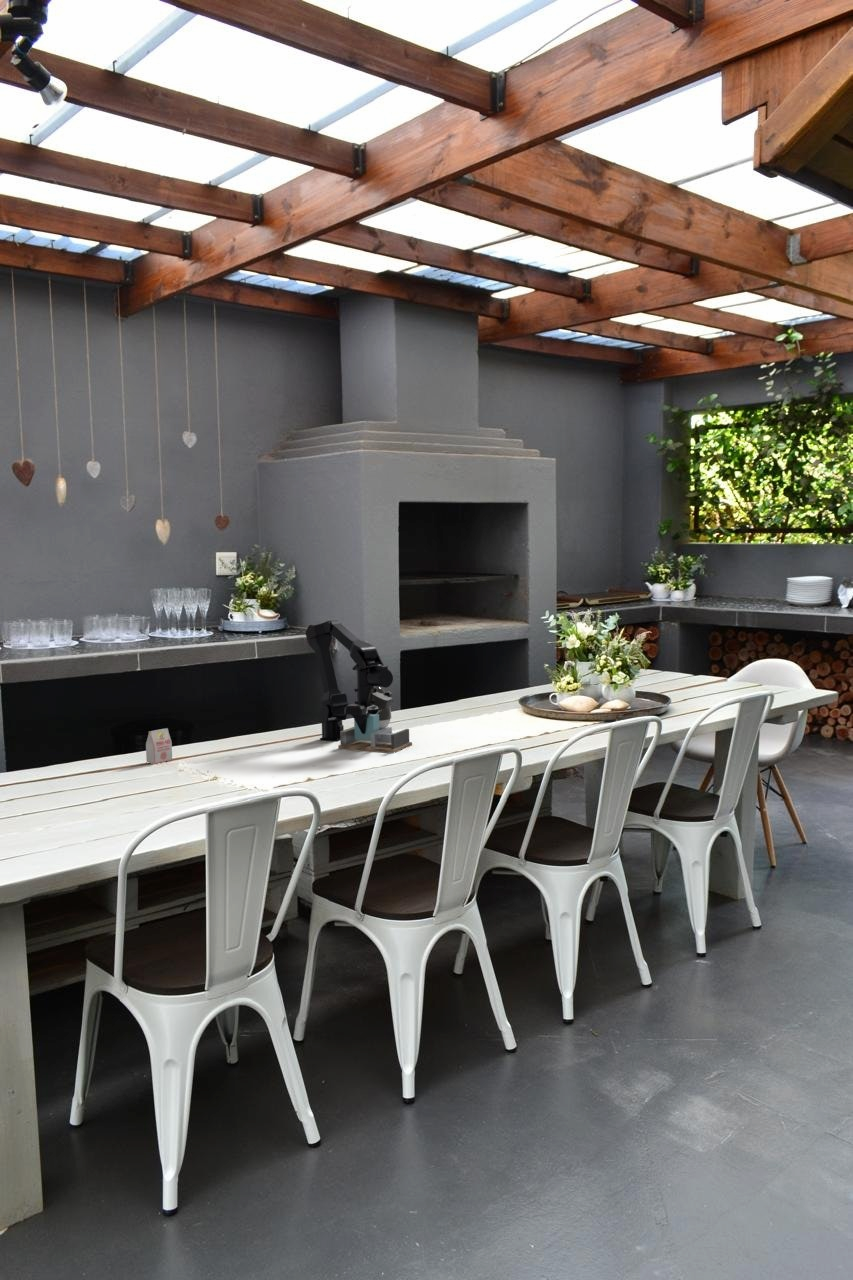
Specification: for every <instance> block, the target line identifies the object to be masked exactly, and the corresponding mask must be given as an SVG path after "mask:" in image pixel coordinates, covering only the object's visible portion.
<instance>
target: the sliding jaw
mask: <svg viewBox="0 0 853 1280" xmlns="http://www.w3.org/2000/svg"><path fill="white" fill-rule="evenodd" d="M409 742H410V729H409V728H404V729H402V730H400V731H397V732H395V733H393V727H392V726H390V727H389V726H387V727H386V728H384V729H379V731H376V732H373V733H371V747H373V748H375V747H378V746H380V745H383V744H385V743H391V749H395V748H397V747H399V746H402V745H404V744H406V743H409Z"/></svg>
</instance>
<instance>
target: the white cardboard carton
mask: <svg viewBox="0 0 853 1280" xmlns="http://www.w3.org/2000/svg"><path fill="white" fill-rule="evenodd" d="M172 744H173V743H172V739H171V736H170V733H169V728H168V727H166V728H161V729H155V730H151V731H150V730H149V731H148V735H147V739H146V742H145V750H146V751H145V753H146V755H145V756H146V759H145V760H146V763H147V762H149V763H151V764H150V765H153V764H156V765H159V764H158V763H160V764H163V763H162V762H165V763H167V762H166V761H169V760H172V761H173V745H172ZM169 762H170V761H169Z"/></svg>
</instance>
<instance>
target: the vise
mask: <svg viewBox="0 0 853 1280" xmlns="http://www.w3.org/2000/svg"><path fill="white" fill-rule="evenodd" d="M339 742H340V744H339V745H338V749H340V750H352V751H362V752H363V751H365V752H366V751H367V752H376V751H379V752H380V753H389V752H395V753H397V751H398V752H399V750H400V751H402V750H405V749H406V747H407V748H409V747H412V746H413V742H412V741H409V743H406V744H404V745H402V746H399V747H397V748H395V749H391V743H385V744H383V745H380V746H378V747H375V748H373V747H371V741H367V740H355V731H354V726H351V727H349V728H346V729H344V730H343V731H340V741H339ZM408 746H409V747H408ZM401 749H402V750H401ZM379 752H378V753H379Z"/></svg>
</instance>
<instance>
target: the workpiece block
mask: <svg viewBox="0 0 853 1280" xmlns="http://www.w3.org/2000/svg"><path fill="white" fill-rule="evenodd" d="M353 720H354V721H353V724H354V725H353V727H354V731H355V740H367V741H371V733H373V732H376V731H379V730H380V729H379V714H370V715H369V716H368V717H367V723H366V732H365V734H362V733H361V731H360V729H359V727H358V725H357V723H356V721H355V719H354V718H353Z"/></svg>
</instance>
